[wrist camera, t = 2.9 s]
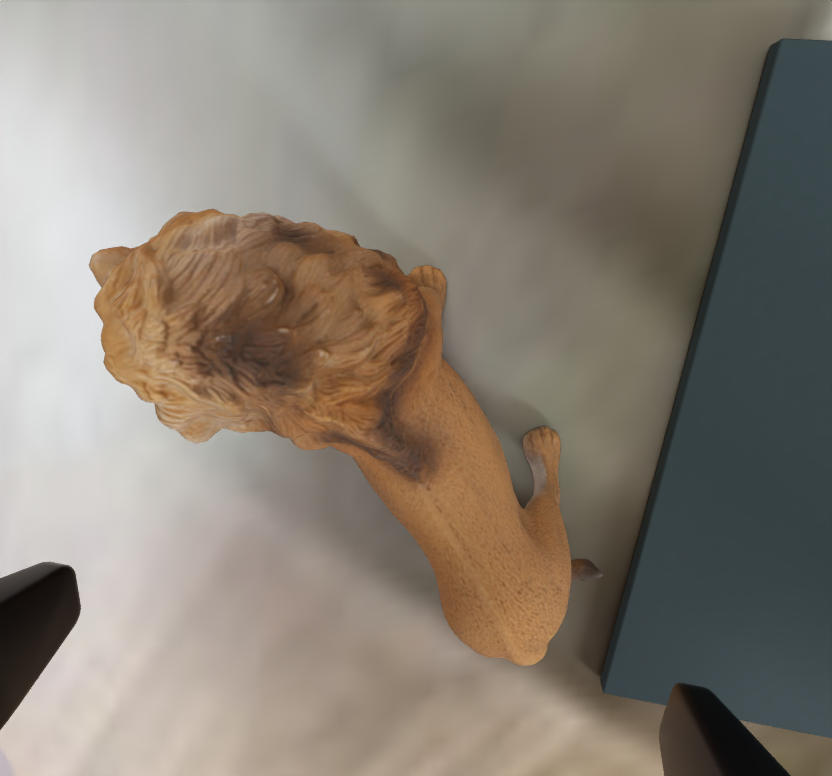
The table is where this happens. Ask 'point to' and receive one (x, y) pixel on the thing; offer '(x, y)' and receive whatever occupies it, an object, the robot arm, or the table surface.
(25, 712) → the table surface
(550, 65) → the table surface
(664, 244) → the table surface
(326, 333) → the lion figurine
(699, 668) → the dark teal mat
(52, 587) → the robot arm
